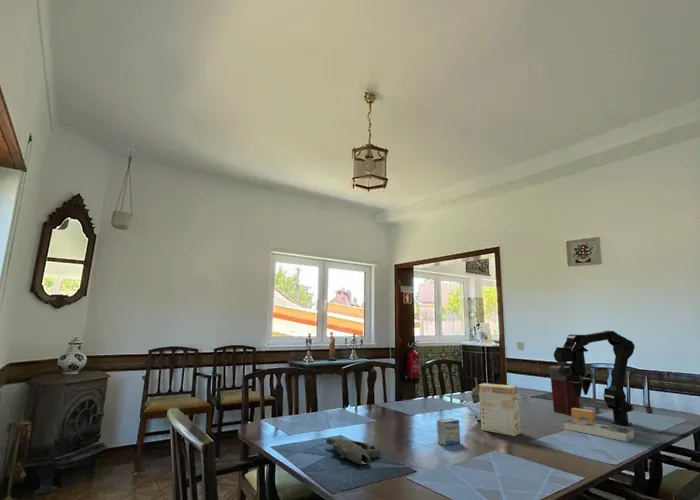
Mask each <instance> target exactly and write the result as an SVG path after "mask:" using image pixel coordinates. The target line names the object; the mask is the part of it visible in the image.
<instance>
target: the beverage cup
mask: <svg viewBox="0 0 700 500" xmlns="http://www.w3.org/2000/svg"><path fill="white" fill-rule="evenodd" d="M474 381H475V387H473V388H472V391H471V394H470V395H471V399H472V402H473V403H477V402H480V399H479V385H478V382H477V377H474ZM473 403H472V404H473ZM474 416H475V420H476V419H477V416H476V415H475V414H474Z"/></svg>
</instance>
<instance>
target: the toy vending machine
mask: <svg viewBox="0 0 700 500" xmlns="http://www.w3.org/2000/svg"><path fill="white" fill-rule="evenodd" d="M556 363H557V365H552V366H549V374H550V375H549V376H550V382H551V383H550V385H551V395H552V406H553V412H554V413H557V414H560V415H561V414H562V415H565V416H566V415H567V416H572V415H571V409H572V408H579V409H581V406H580V398H579V397H577V395H576V393H575V391H574V388H573V386H572V385H571V384H570V383H568V381H566V376H567V375H566V376H561V374H560V373H559V368H560V367H564V368H567V367H570V366H567V363H568V362H557V361H556ZM568 375H570V374H568Z"/></svg>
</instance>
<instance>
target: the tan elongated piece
mask: <svg viewBox="0 0 700 500" xmlns="http://www.w3.org/2000/svg"><path fill="white" fill-rule="evenodd" d="M325 443H326V444H328V445H329V446H330V445H331V446H333V447H332V449H331V450H332V451H336V452H337V453H338V454H339V455H340V454H341V455H340V458H341V459H342V458H347V460H349V461H351V460H352V461H351V462H353V463H354V462H355V464H356V463H358V464H361V461H364V462H365V463H367V464H366V465H368V464H370V463H371V462H372V458H373V457H372V456H377V455H380V456H381V451H380V449H377V448H376V446H374V445H370V444H369V443H366V442H362V441H356V440H349V439H344V438H341V437H337V438H334V437H328V438H327V439H326V440H325ZM364 449H365V450H364ZM370 457H371V458H370ZM377 457H378V456H377ZM358 464H357V465H358Z"/></svg>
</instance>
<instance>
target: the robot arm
mask: <svg viewBox="0 0 700 500" xmlns="http://www.w3.org/2000/svg"><path fill="white" fill-rule="evenodd" d="M602 341H607V342H608V344H610V345H611V346H612V348H613V349H612V351H613V354H614V356H615V358H614V364H613V368H612V375H611V383H610V386H609V387H608V388H607V387H605V388H604V390H603V391H604V392H603V395H602V397H603V401H604V402H605V403H606V405H607V407H608V409H612V416H613V420H612V421H610V423H611V424H614V425H618V426H619V425H620V426H625V427H628V426H630V425H632V423H633V422H629V415H628V413H630V412H632V410H633V407H632V406H631V404H629V403H628V401H627V397H626V396H627V395H626V393H625V391H624V387H625V385H624V384H625V379H626V373H627V368H628V361H629V359H630V358H631V356H632V355H633V354H634V350H635V347H636V346H635V344H634V342H633V341H632V340H630V339H628V338H626V337H624V336H623V335H621V334H619V333H617V332H616V331H614V330H603V331H601V332H593V333H588V334H568V335H567V337H566V339H565V342H564V344H563V345H562V347H561V346H560V347H559V346H556V347H555V351H554V352H553V357H554V360H555V361H556V363H557V362H567V363H568V362H569V367H567V368H564V367H560V368H559V373H560V374H561V376H566V375H567V376H566V381H568V383H570V384H571V385H572V386H573V388H574V391H575V393H576V395H577V397H579V399H581V395H582V391H583V394H584V395H585V396H586V395H588V393H589V390H590V387H591V385H592V382H593V381H594V379H595V377H594V376H595V375H594V373H592V372H591V371H587V366H588V363H586V359H585V353H586V352H587V353H588V352H589V350H588V349H587V348H586V347H585V346H588V345H590V343H596V342H602ZM568 374H570V375H568Z"/></svg>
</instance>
